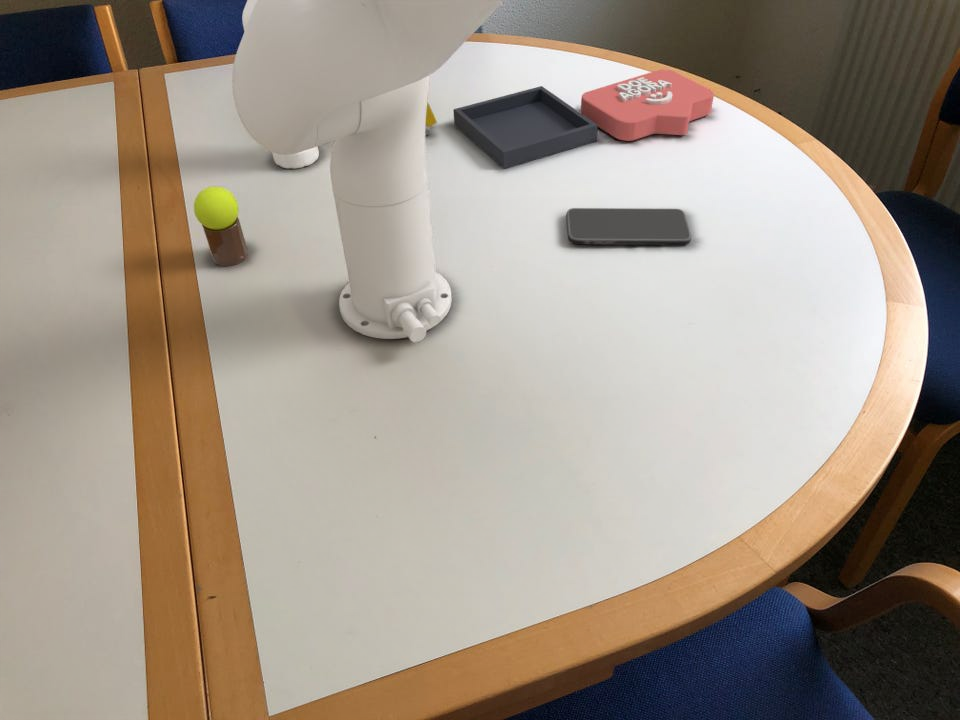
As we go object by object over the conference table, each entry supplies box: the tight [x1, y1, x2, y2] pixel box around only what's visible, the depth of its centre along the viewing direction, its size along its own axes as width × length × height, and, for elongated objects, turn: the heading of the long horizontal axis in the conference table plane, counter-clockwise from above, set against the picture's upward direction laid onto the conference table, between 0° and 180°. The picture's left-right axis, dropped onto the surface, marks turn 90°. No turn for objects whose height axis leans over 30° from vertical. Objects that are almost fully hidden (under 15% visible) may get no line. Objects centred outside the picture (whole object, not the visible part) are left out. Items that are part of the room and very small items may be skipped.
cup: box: [201, 216, 249, 267], centre depth 96 cm, size 4×4×5 cm
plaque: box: [580, 69, 715, 142], centre depth 120 cm, size 18×4×15 cm
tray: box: [453, 85, 599, 170], centre depth 118 cm, size 16×16×3 cm
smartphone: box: [565, 207, 692, 246], centre depth 99 cm, size 7×1×15 cm
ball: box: [193, 186, 240, 230], centre depth 93 cm, size 5×5×5 cm
